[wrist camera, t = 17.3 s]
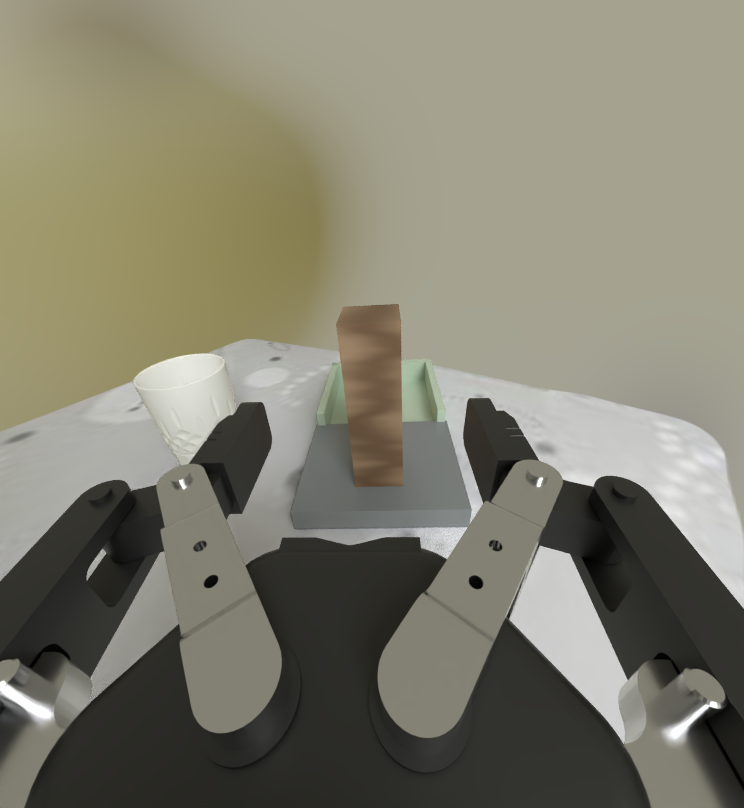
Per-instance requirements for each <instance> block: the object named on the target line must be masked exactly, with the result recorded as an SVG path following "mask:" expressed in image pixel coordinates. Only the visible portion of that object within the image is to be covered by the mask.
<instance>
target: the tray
mask: <svg viewBox="0 0 744 808" xmlns="http://www.w3.org/2000/svg"><path fill="white" fill-rule="evenodd" d="M401 371H402V422H417V421H437V422H445V407H444V403H443V400H442V396H441V393H440V390H439V386H438V383H437V379H436V376H435V373H434V369H433V366H432V362H431V359H414V360H413V359H411V360H401ZM316 415H317V421H318V426H323V425H326V424H348V419H347V410H346V402H345V393H344V385H343V376H342V368H341V362H339V363H333V364H332V367H331V370H330V373H329V376H328V379H327V382H326V385H325V388H324V392H323V395H322V398H321V401H320V404H319V407H318V410H317V413H316Z"/></svg>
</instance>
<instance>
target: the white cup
mask: <svg viewBox="0 0 744 808" xmlns="http://www.w3.org/2000/svg"><path fill="white" fill-rule="evenodd" d="M133 385H134V387H135V388H136V390H137V392H138V394H139V396H140V397H141V399H142V401H143V403H144V405H145V406H146V408H147V410H148V412H149V414H150V416H151V417H152V419H153V421H154V423H155V425H156V426H157V427H158V429H159V431H160V433H161V435H162V436H163V438H164V439H165V441H166V443H167V445H168V447H169V448H171V450H172V451H173V453H174V455H175V457H176V459H177V460H178V462H179V464H180V465H185V464H189V463H190V461H191V460H192V458H193V457H194V456H195V454H196V453H197V452H198V450H199V449H200V447H201V446H202V445H203V443H204V442H205V441H207V438H208V436H209V435H210V433H212V431H213V429H214V428H215V427H216V425H217V424H218V423H219V422H220V421H222V420H223V419H224V418H226V417H227V416H228V415H233V414H234V413H235V411H236V410H237V406H236V402H235V398H234V394H233V390H232V386H231V383H230V379H229V375H228V371H227V367H226V363H225V360H224V358H222V357H221V356H219V355H215V354H191V355H185V356H179V357H175V358H171V359H168V360H165V361H162V362H159V363H156V364H154V365H152V366H150V367H148V368H146V369H144V370H143V371H141V372H140V373H139V374H138V375H136V377H135V378H134V380H133Z"/></svg>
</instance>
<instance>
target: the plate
mask: <svg viewBox="0 0 744 808" xmlns="http://www.w3.org/2000/svg"><path fill="white" fill-rule="evenodd" d="M402 438H403V486H386V487H355V479H354V470H353V462H352V453H351V445H350V436H349V427H348V424H326V425H323V426H318V425H317V426H316V429H315V432H314V436H313V439H312V442H311V445H310V449H309V452H308V455H307V459H306V462H305V465H304V469H303V472H302V475H301V478H300V482H299V485H298V488H297V492H296V495H295V498H294V502H293V505H292V508H291V511H290V513H291V517H292V520H293V524H294V528H295V529H337V528H415V527H469V524H470V517H471V510H472V509H471V506H470V502H469V499H468V495H467V492H466V488H465V485H464V481H463V478H462V474H461V471H460V467H459V464H458V460H457V456H456V453H455V449H454V446H453V442H452V439H451V435H450V432H449V428H448V425H447V421H445V422H437V421H417V422H402Z"/></svg>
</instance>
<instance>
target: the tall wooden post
mask: <svg viewBox="0 0 744 808" xmlns="http://www.w3.org/2000/svg"><path fill="white" fill-rule="evenodd" d="M336 325H337V334H338V342H339V351H340V359H341V368H342V376H343V385H344V393H345V402H346V410H347V419H348V427H349V436H350V445H351V453H352V462H353V470H354V479H355V487H386V486H403V438H402V371H401V320H400V312H399V305H398V304H391V305H372V306H353V307H343V309H342V311H341V314H340V316H339V319H338V322H337V324H336Z"/></svg>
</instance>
